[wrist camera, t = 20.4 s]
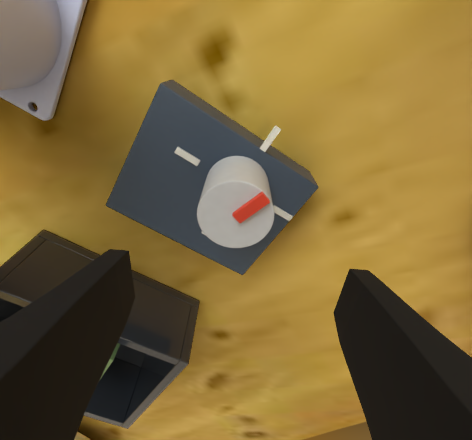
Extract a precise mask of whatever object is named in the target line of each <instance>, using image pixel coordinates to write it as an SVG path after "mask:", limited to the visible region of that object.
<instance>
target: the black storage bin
mask: <svg viewBox="0 0 472 440" xmlns="http://www.w3.org/2000/svg"><path fill="white" fill-rule="evenodd" d="M99 256H100V255H98V254H96V253H94V252H91V251H89V250H87V249H85V248H83V247H80V246H78V245H76V244H74V243H72V242H70V241H67V240H65V239H63V238H61V237H59V236H56V235H54V234H52V233H50V232H48V231H46V230H42V231H41V232H40V233H39V234H38V235H37V236H35V237H34V238H33V239H32V240H31V241H30V242H28V243H27V244H26V245H25V246H24V247H23V248H21V249H20V250H19V251H18V252H17V253H16V254H14V255H13V256H12V257H11V258H10V259H9V260H8V261H6V262H5V263H4V264H3V265H2V266H1V267H0V322H1V321H3V320H5V319H6V318H8V317H10V316H11V315H13V314H15V313H16V312H18V311H19V310H21V309H22V308H24V307H26V306H27V305H29V304H30V303H32V302H33V301H35V300H37V299H38V298H40V297H41V296H43V295H44V294H46V293H47V292H49V291H51V290H52V289H53V288H55V287H56V286H58V285H59V284H61V283H62V282H64V281H65V280H66V279H68V278H69V277H71V276H72V275H74V274H75V273H77V272H78V271H79V270H81V269H82V268H84V267H85V266H86V265H88V264H89V263H91V262H92V261H93V260H95V259H96V258H98V257H99ZM132 277H133V284H134V291H135V299H134V302H133V305H132V309H131V312H130V315H129V317H128V320H127V323H126V326H125V328H124V330H123V332H122V335H121V337H120V339H119V341H118V343H119V344H120V346H119V348H118V351H117V353H116V355H115V358H114V360H113V362H112V363H111V364H110V366H109V367H108V369H107V370H106V372H105V373H104V375H103V376H102V378H101V379H100V380H99V382H98V384H97V386H96V389H95V391H94V393H93V395H92V397H91V399H90V401H89V404H88V406H87V408H86V411H85V413H84V416H87V417H90V418H94V419H97V420H100V421H104V422H107V423H110V424H113V425H117V426H121V427H124V428H127V429H128V428H129V427H130V426H131V425H132V424H133V423H134V422H135V421H136V419H137V418H138V417H139V416H140V415H141V414H142V413H143V412H144V411H145V410H146V409H147V408H148V407H149V406H150V405H151V403H152V402H153V401H154V400H155V399H156V398H157V397H158V396H159V395H160V394H161V393H162V392H163V391H164V390H165V388H166V387H167V386H168V385H169V384H170V383H171V382H172V381H173V380H174V379H175V378H176V377H177V376H178V375H179V374H180V372H181V371H182V370H183V369H184V368H185V367H186V366H187V365H188V364H189V359H190V353H191V348H192V342H193V336H194V331H195V325H196V320H197V314H198V308H199V301H198V300H196V299H194V298H192V297H190V296H187V295H185V294H183V293H181V292H179V291H177V290H174V289H172V288H170V287H168V286H166V285H163V284H161V283H159V282H157V281H155V280H153V279H150V278H148V277H146V276H144V275H142V274H139V273H137V272H135V271H133V270H132Z"/></svg>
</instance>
